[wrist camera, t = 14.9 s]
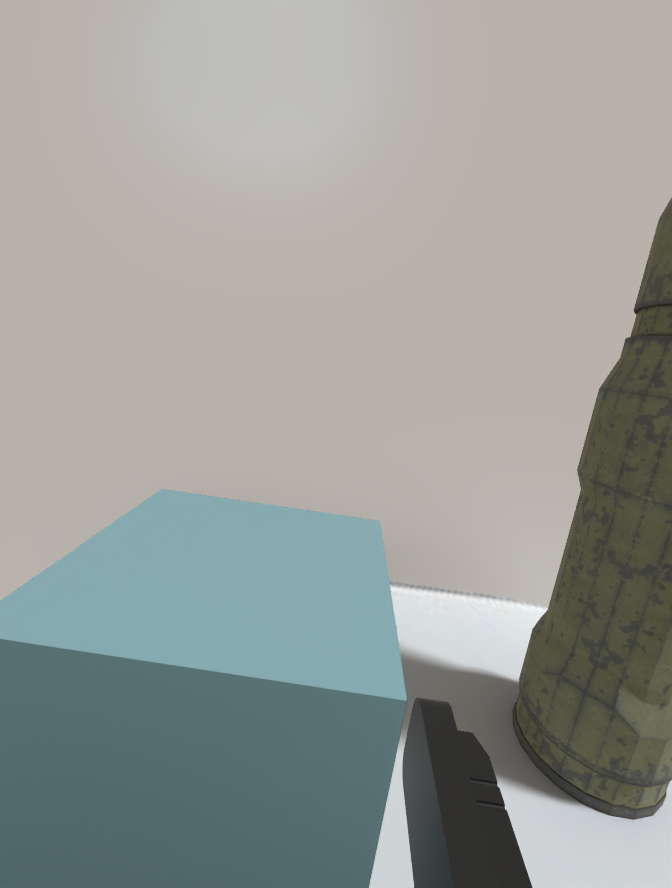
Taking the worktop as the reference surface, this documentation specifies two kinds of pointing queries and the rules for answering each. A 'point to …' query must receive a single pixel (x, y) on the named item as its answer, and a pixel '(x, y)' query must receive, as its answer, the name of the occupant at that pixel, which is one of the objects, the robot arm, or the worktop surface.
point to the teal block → (201, 702)
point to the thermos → (614, 586)
